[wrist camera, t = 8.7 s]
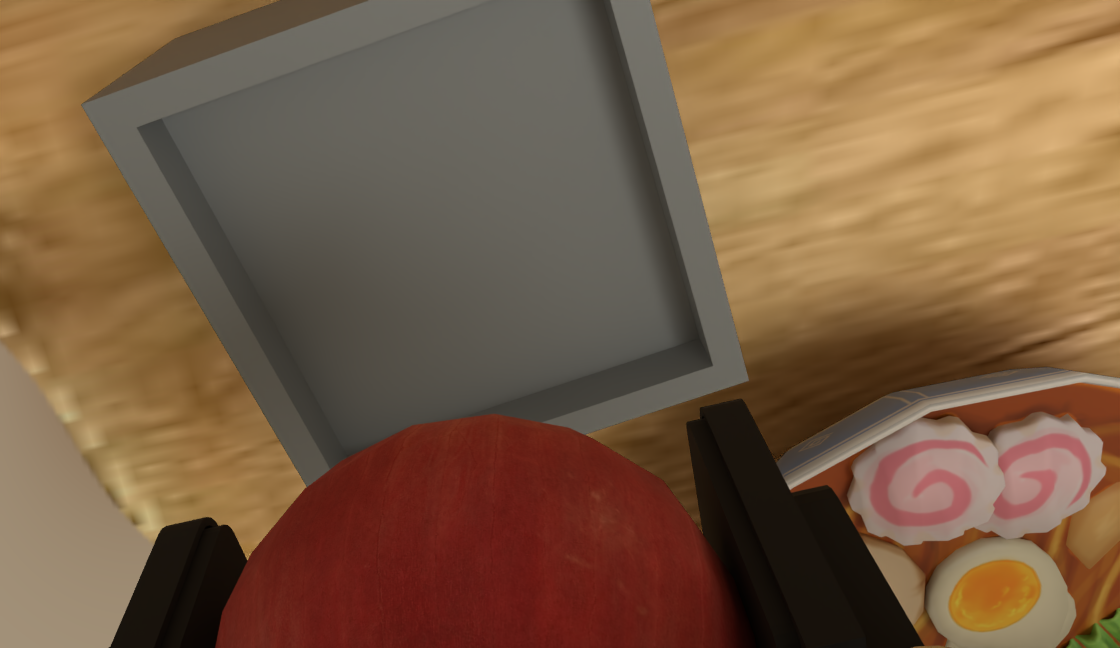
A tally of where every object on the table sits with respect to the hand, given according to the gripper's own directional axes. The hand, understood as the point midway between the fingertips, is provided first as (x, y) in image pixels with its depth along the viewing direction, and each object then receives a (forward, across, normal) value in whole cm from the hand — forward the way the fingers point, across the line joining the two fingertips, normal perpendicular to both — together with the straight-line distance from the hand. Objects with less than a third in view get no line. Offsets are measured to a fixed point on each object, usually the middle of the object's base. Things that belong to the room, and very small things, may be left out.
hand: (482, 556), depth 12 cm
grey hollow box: (+18, 0, 0) cm, 18 cm away
